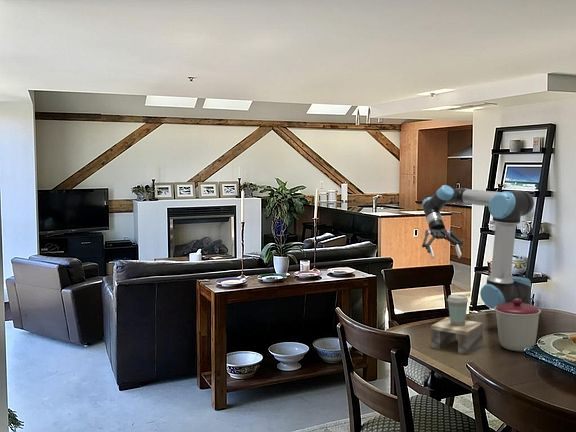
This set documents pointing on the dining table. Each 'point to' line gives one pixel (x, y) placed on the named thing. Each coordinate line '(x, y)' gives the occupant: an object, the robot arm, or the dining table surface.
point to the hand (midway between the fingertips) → (446, 257)
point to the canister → (517, 324)
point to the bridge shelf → (467, 335)
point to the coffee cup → (457, 309)
